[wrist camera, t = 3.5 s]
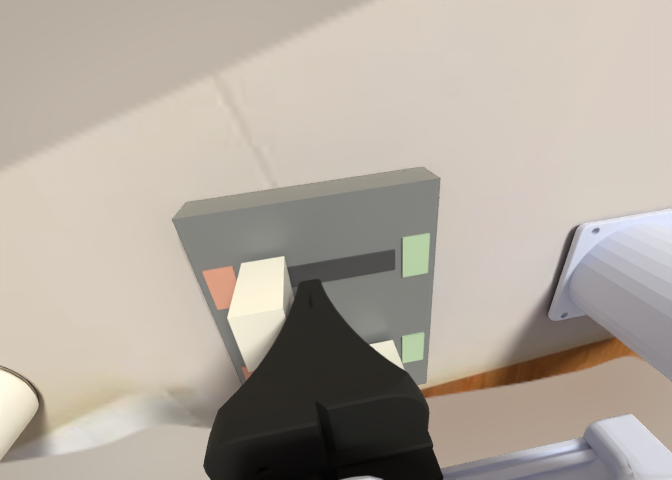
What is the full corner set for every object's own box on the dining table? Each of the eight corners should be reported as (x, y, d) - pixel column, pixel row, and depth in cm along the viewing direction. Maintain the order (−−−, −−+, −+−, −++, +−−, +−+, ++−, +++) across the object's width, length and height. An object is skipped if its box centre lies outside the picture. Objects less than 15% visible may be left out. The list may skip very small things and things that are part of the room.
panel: (422, 166, 15) (441, 178, 13) (415, 359, 22) (426, 384, 21) (186, 202, 14) (170, 220, 12) (258, 390, 22) (255, 419, 20)
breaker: (392, 339, 18) (415, 396, 14) (393, 372, 19) (413, 429, 16) (360, 346, 17) (375, 404, 14) (363, 378, 19) (377, 437, 16)
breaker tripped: (284, 255, 14) (283, 308, 11) (295, 304, 15) (297, 362, 12) (241, 263, 14) (226, 318, 10) (257, 311, 15) (248, 372, 12)
